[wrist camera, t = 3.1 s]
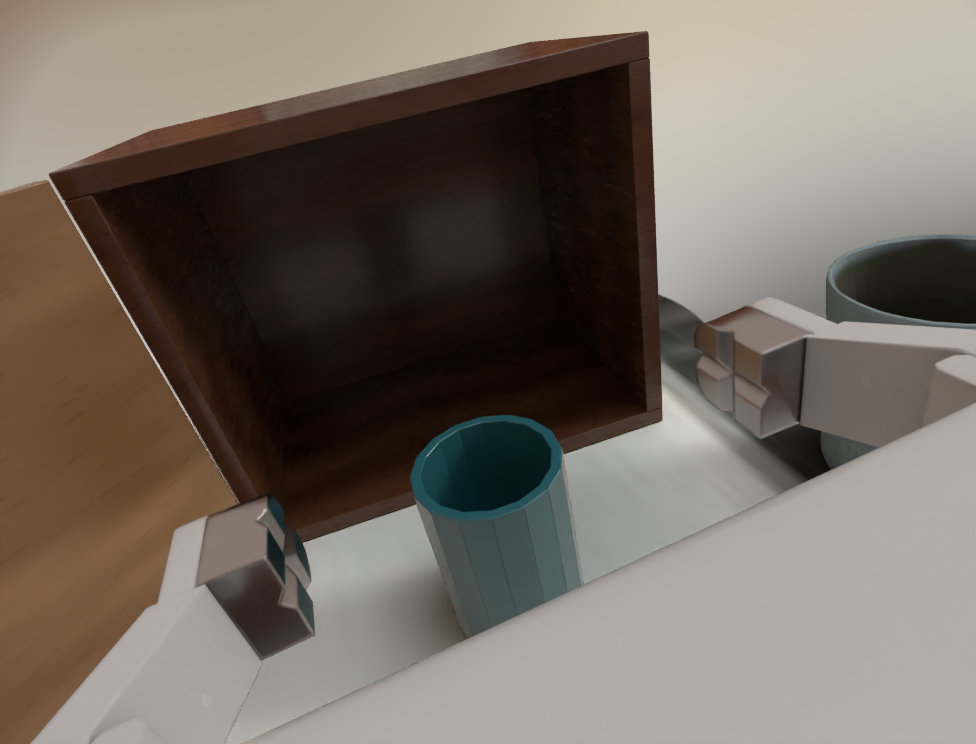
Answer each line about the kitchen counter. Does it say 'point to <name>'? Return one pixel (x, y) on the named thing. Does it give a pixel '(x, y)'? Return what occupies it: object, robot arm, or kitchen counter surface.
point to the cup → (498, 517)
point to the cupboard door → (78, 464)
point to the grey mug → (901, 297)
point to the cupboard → (394, 266)
